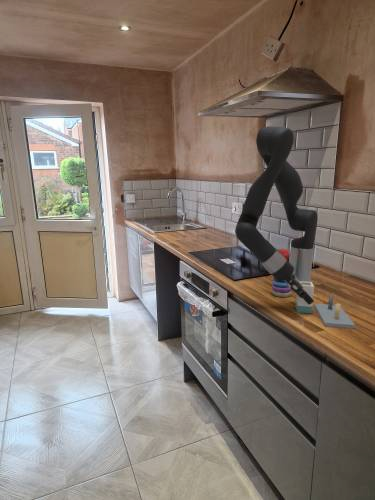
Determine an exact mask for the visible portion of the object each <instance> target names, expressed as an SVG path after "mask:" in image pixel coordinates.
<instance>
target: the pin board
mask: <svg viewBox="0 0 375 500" xmlns="http://www.w3.org/2000/svg"><path fill="white" fill-rule="evenodd" d="M328 296H329V297H328V304H327V303H325V304H323V303H314V304H313V308H314V310H315V311H316V313H317V315H318V317H319V319H320V320H321V322H322V324H323V325H324V327H328V328H329V327H331V328H340V329H341V328H344V329H345V328H346V329H356V324H355V323H354V321H353V320H352V319H351V318H350V316H349V315H348V314H347V312H346V311H345V310H344V309H343V307H342V306H341V303H335V304H334V297H335V295H334V294H328Z"/></svg>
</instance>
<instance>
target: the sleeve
mask: <svg viewBox="0 0 375 500" xmlns="http://www.w3.org/2000/svg"><path fill="white" fill-rule="evenodd" d="M300 283H301V285H302V286H303V289H304V290H305V291H306V292H307V294H308V295H309V296H310V297H311V298H312V299H313V300H314V297H315V296H314V295H315V284H313V282H312V281H310V282H303V281H300ZM299 286H300V285H299ZM302 292H303V291H301V292H300V294H301V293H302ZM295 294H296V293H295ZM313 303H314V302H313ZM313 303H311V304H310V305H309V304H308V303H307V302H306V301H305V300H304V299H303V298H300V297H299V296H298V295H297V294H296V295H295V307H294V308H295V310H296V313H299V314H300V313H301V314H312V312H313V306H314V304H313Z"/></svg>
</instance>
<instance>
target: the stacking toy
mask: <svg viewBox="0 0 375 500" xmlns="http://www.w3.org/2000/svg"><path fill="white" fill-rule="evenodd" d="M277 251H278V252H280V253H281V254H282V255H283V256H284V257H285V258H286V259H287V260H288V261H289V260H290V252H289V251H288V249H285V248H282V249H281V248H280V249H279V250H277ZM285 281H286V280H283V281H281V282H278V281H277V280H276V279H275V278H274V277H273V280H272V285H271V290H270V293H271V295H273V296H275V297H279V298H288V297H290V296H291V295H292V291H291V290H292V289H291V288H290V287H289V286H288V285H287V284H286V282H285Z"/></svg>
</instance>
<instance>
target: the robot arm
mask: <svg viewBox="0 0 375 500" xmlns="http://www.w3.org/2000/svg"><path fill="white" fill-rule="evenodd" d="M294 140H295V134H294V132H293V130H292V129H291V128H289V127H284V126H264V127H262V128H260V129H259V130H258V132H257V135H256V138H255V143H256V148H257V151H258V153H259V155H260V157H261V158H262V160H263V162H264V164H265V165H266V168H265V170H264V171H263V172H262V173H261V174H260V176H258V178H256V180H255V181H254V182H253V183H252V185H250V187H249V190H248V192H247V195H246V198H245V201H244V203H243V207H242V211H241V213H240V215H239V218H238V220H237V223H236V226H235V228H234V229H235V230H234V232H235V237H236V239H237V240H238V241H239V242H240V244H242V245H243V246H245V248H247V249H248V250H249V251H250V252H251V253H252V255H253V256H254V257H255V258H256V259H257V260H258V261H259V262H260V264H262V266H263V267H264V269H265V270H266V271H267V272H268V273H269V274H270V275H271V276H272V277H273V279H274V278H275V279H276V280H277V281H278V282H281V281H283V280H286V281H285V282H286V284H287V285H288V286H289V287H290V288H291V290H292V291H293V293H295V294H297V295H298V296H299V297H300V298H303V299H304V300H305V301H306V302H307V303H308V304H309V305H310V304H311V303H314V298H313V299H312V298H311V297H310V296H309V295H308V294H307V292H306V291H305V290H304V289H303V286H302V285H301V283H300V281H303V282H311V277H312V276H311V275H312V267H313V266H312V265H313V257H314V245H315V241H316V233H317V228H318V221H319V216H318V215H319V214H318V212H317V210H313V209H303V208H299V207H298V206H297V203H298V202H299V201H300V199H301V197H302V195H303V193H304V186H303V182H302V179H301V176H300V174H299V172H298V170H296V169H295V167H294V166H293V165H291V163H289V162H288V161H287V159H288V157H289V156H290V153H291V151H292V148H293V145H294ZM274 185H275V186H274ZM273 186H274V187H275V189H276V191H277V193H278V196H279V197H280V200H281V202H282V203H281V204H282V205H283V208H284V212H285V215H286V219H287V223H288V225H289V227H290V229H291V230H293V231H296V232H303V236H300V237H296V238H293V239H291V241H290V249H289V251H290V252H289V255H290V256H289V259H288V260H287V259H286V258H285V257H284V256H283V255H282V254H281V253H280V252H278V251H279V250H277V249H276V248H275V247H274V245H273V244H272V243H271V242H270V241H268V240H267V239H266V238H265V237H264V236H263V234H262V233H261V232H260V231H259V230H258V229H257V225H258V222H259V220H260V217H261V216H262V215H263V213H264V210H265V208H266V205H267V202H268V199H269V196H270V194H271V190H272V189H273ZM299 285H300V286H299ZM301 291H303V292H302V293H301V294H300V292H301Z"/></svg>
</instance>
